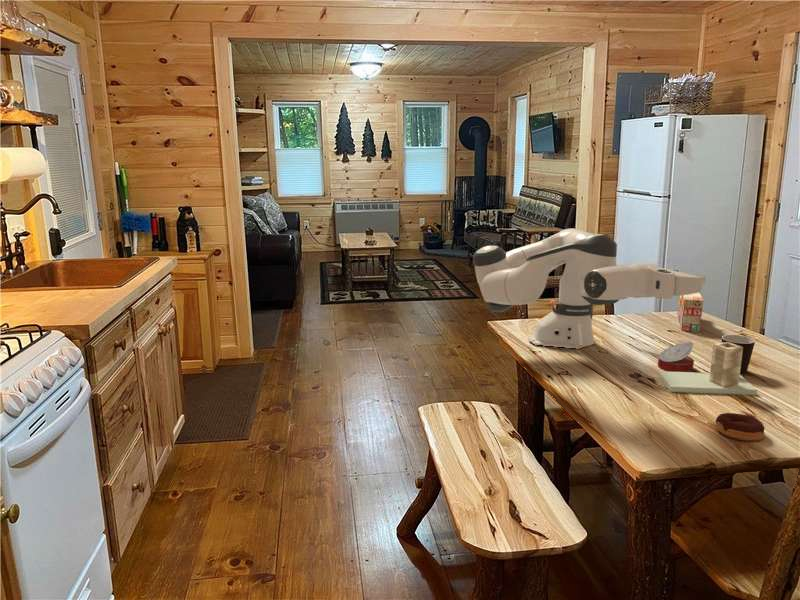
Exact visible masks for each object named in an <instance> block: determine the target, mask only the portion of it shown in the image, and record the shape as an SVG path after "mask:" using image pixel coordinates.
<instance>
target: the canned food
mask: <svg viewBox="0 0 800 600" xmlns="http://www.w3.org/2000/svg"><path fill="white" fill-rule="evenodd" d="M693 346H694V343H693V342H691V341H683V342H679V343H676V344H675V345H671V346H669V347H668V348H667V347H666V348H665V349H664V350H663V351H660V354H659V355H658V356H657V359H658V360H657V367H658V369H660V370H661V371H666V372H693V371H694V363H695V360H694V359H693V358H692V357H690V356H689V355H690V354H691V352H692V350H693Z"/></svg>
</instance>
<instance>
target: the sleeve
mask: <svg viewBox="0 0 800 600" xmlns="http://www.w3.org/2000/svg"><path fill="white" fill-rule="evenodd" d="M742 352H743V347H741V346H738V345H735V344H733V343H730V342H724V343H722V342H718V343H713V346H712V355H711V356H712V357H711V362H710V363H711V364H710V372H709V373H710V380H709V381H710V382H712V383H714V384H716V385H719V386H721V387H723V388H725V387H732V386H738V384H739V376H740V368H741V360H742Z"/></svg>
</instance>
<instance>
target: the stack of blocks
mask: <svg viewBox="0 0 800 600" xmlns="http://www.w3.org/2000/svg"><path fill="white" fill-rule="evenodd" d="M677 304H678V307H677V320H678V323H679V327H680V331H682V332H691V333H692V332H696V333H700V331H701V323H702V322H701V321H702V315H703V314H702V313H703V307H704V306H703V305H704V299H703V297H702V295H701V292H698V293H694V294H688V295H680V296H678V303H677Z"/></svg>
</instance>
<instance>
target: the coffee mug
mask: <svg viewBox="0 0 800 600" xmlns="http://www.w3.org/2000/svg"><path fill="white" fill-rule="evenodd" d="M724 342H730V343H733V344H735V345H738V346H741V347H743V352H742V360H741V368H740V375H741V376H743V375H746V374H747V372H748V369H749V366H750V362H751V357H752V354H753V351H754V346H755V343H756V340H755V339H754V338H753V337H750V336H746V335H740V334H725V335H722V336H721V343H724Z"/></svg>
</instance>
